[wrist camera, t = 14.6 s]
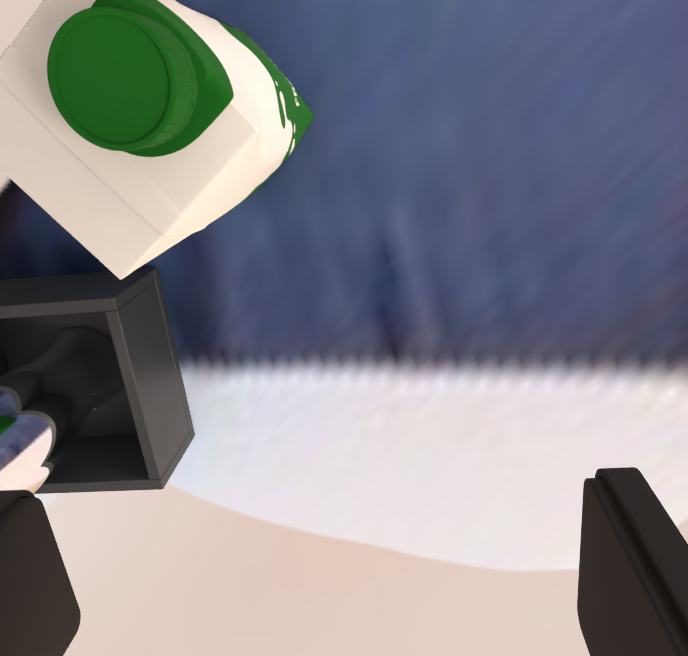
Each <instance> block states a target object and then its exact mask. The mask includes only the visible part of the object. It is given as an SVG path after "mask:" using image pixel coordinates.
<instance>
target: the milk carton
mask: <svg viewBox="0 0 688 656" xmlns="http://www.w3.org/2000/svg"><path fill="white" fill-rule="evenodd" d="M314 117H315V116H314V114H313V113H312V112H311V110H310V109H309V108H308V106H307V105H306V103H305V102H304V101H303V99H302V98H301V97H300V95H299V94H298V92H297V91H296V90H295V88H294V87H293V86H292V84H291V83H290V82H289V80H288V79H287V78H286V77H285V76H284V74H283V73H282V72H281V71H280V70H279V69H278V68H277V66H276V65H275V64H274V63H273V62H272V61H271V60H270V58H269V57H268V56H267V55H266V54H265V53H264V52H263V51H262V50H261V49H260V48H259V47H258V46H257V44H256V43H255V42H254V41H253V40H252V39H251V38H250V37H249V36H248V35H247V34H245V33H244V32H242V31H241V30H239V29H237V28H235V27H232V26H229V25H226V24H224V23H222V22H219V21H217V20H215V19H212V18H210V17H208V16H206V15H203V14H201V13H199V12H196V11H194V10H192V9H190V8H187V7H185V6H184V5H182V4H180V3H178V2H176V1H175V0H44V1H43V2H42V3H41V5H40V6H39V7H38V9H37V10H36V11H35V13H34V14H33V16H32V17H31V18H30V20H29V21H28V22H27V24H26V25H25V27H24V28H23V29H22V31H21V33H19V35H18V36H17V38H16V39H15V40H14V42H13V44H12V45H10V46H9V47H8V48H7V49H6V50H5V51H4V53H3V54H2V55H1V57H0V169H1V170H2V171H3V172H4V173H5V174H6V175H7V176H8V177H9V178H10V179H11V180H13V181H14V182H15V183H16V184H17V185H18V186H19V187H20V188H21V189H22V190H23V191H24V192H26V193H27V194H28V195H29V196H30V197H31V198H32V199H33V200H34V201H35V202H36V203H37V204H39V205H40V206H41V207H42V208H43V209H44V210H45V211H46V212H47V213H48V214H49V215H50V216H52V217H53V218H54V219H55V220H56V221H57V222H58V223H59V224H60V225H61V226H62V227H63V228H65V229H66V230H67V231H68V232H69V233H70V234H71V235H72V236H73V237H74V238H75V239H76V240H78V241H79V242H80V243H81V244H82V245H83V246H84V247H85V248H86V249H87V250H88V251H90V252H91V253H92V254H93V255H94V256H95V257H96V258H97V259H98V260H99V261H100V262H101V263H103V264H104V265H105V266H106V267H107V268H108V269H109V270H110V271H111V272H112V273H113V274H114V275H116V276H117V277H118V278H119V279H120V280H121V279H123V278H125V277H126V276H128V275H129V274H130V273H132V272H133V271H135V270H136V269H138V268H139V267H141V266H142V265H144V264H146V263H147V262H149V261H150V260H152V259H153V258H155V257H156V256H158V255H160V254H161V253H163V252H164V251H166V250H167V249H169V248H170V247H172V246H174V245H175V244H177V243H178V242H180V241H181V240H183V239H184V238H186V237H188V236H189V235H191V234H192V233H195V232H197V231H200V230H202V229H204V228H205V227H206V226H207V225H208V224H210V223H211V222H213V221H215V220H216V219H218V218H219V217H221V216H222V215H224V214H225V213H226V212H228V211H229V210H231V209H232V208H234V207H235V206H237V205H238V204H240V203H241V202H243V201H244V200H245V199H247V198H248V197H250V196H251V195H252V194H253V193H254V192H256V191H257V190H258V189H259V188H260V187H261V186H262V185H263V184H264V183H265V182H266V181H267V180H268V178H269V177H270V176H271V175H272V174H273V173H274V172H275V171H276V170H277V169H278V168H279V167H280V166H281V165H282V163H283V162H284V161H285V160H286V159H287V158H288V156H289V155H290V154H291V153H292V152H293V150H294V149H295V147H296V145H297V144H298V142H299V141H300V139H301V138H302V136H303V135H304V133H305V131H306V130H307V128H308V127H309V125H310V123H311V122H312V120H313V119H314Z"/></svg>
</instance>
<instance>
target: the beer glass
mask: <svg viewBox="0 0 688 656" xmlns="http://www.w3.org/2000/svg"><path fill="white" fill-rule="evenodd" d="M123 382H124V381H123V378H122V374H121V370H120V366H119V362H118V359H117V355H116V351H115V347H114V345H113V344H112V343H111V342H110V341H109V340H108V339H107V338H105V337H104V336H102V335H101V334H99V333H97V332H95V331H92V330H89V329H84V328H70V329H66V330H63V331H60V332H58V333H57V334H55V335H54V336H53V337H52V338H51V339H50V340H49V341H48V342H47V343H46V344H45V345H44V347H43V348H42V349H41V351H40V352H39V353H38V354H37V355H36V356H35V357H33V358H32V359H30V360H28V361H27V362H24V363H22V364H20V365H17V366H15V367H12V368H10V369H7V370H5V371H2V372H0V491H2V490H28V491H30V492H32V493H34V492H35V491H36V490H37V489H38V488H39V487H40V486H41V485H42V484H43V483H44V482H45V481H46V479H47V478H48V477H49V476H50V475H51V473H52V472H53V471H54V470H55V469H56V467H57V466H58V464H59V463H60V461H61V460H62V458H63V457H64V455H65V454H66V452H67V451H68V449H69V447H70V446H71V444H72V442H73V440H74V439H75V437H76V435H77V433H78V432H79V430H80V428H81V426H82V424H83V423H84V421H85V420H86V418H87V417H88V415H89V414H90V413H91V412H92V411H93V410H94V409H96V408H97V407H99V406H100V405H102V404H104V403H105V402H107V401H108V400H110V399H111V398H113V397H114V396H115V395H116V394H117V393H118V392H119V390H120V389H121V387H122V385H123Z"/></svg>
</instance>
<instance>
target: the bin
mask: <svg viewBox="0 0 688 656" xmlns="http://www.w3.org/2000/svg"><path fill="white" fill-rule="evenodd" d="M70 328H84V329H89V330H92V331H95V332H97V333H99V334H101V335H102V336H104V337H105V338H107V339H108V340H109V341H110V342H111V343H112V344H113V345H114V347H115V351H116V355H117V359H118V362H119V366H120V370H121V374H122V378H123V381H124V382H123V385H122V387H121V389H120V390H119V392H118V393H117V394H116V395H115V396H114V397H113V398H111V399H110V400H108V401H107V402H105V403H104V404H102V405H100V406H99V407H97V408H96V409H94V410H93V411H92V412H91V413H90V414H89V415H88V417H87V418H86V420H85V421H84V423H83V424H82V426H81V428H80V430H79V432H78V433H77V435H76V437H75V439H74V440H73V442H72V444H71V446H70V447H69V449H68V451H67V452H66V454H65V455H64V457H63V458H62V460H61V461H60V463H59V464H58V466H57V467H56V469H55V470H54V471H53V472H52V473H51V475H50V476H49V477H48V478H47V479H46V481H45V482H44V483H43V484H42V485H41V486H40V487H39V488H38V489H37V490H36V491H35V492H34V493H33V494H41V493H69V492H95V491H124V490H151V489H152V490H154V489H163V488H164V486H165V485H166V483H167V481H168V480H169V478H170V476H171V475H172V473H173V471H174V470H175V468H176V466H177V464H178V463H179V461H180V459H181V458H182V456H183V454H184V453H185V451H186V449H187V448H188V446H189V444H190V443H191V440H192V439H193V438H194V436H195V434H194V429H193V425H192V420H191V416H190V411H189V407H188V402H187V398H186V393H185V389H184V385H183V380H182V376H181V371H180V367H179V362H178V358H177V353H176V349H175V344H174V340H173V335H172V331H171V327H170V322H169V318H168V313H167V309H166V304H165V300H164V295H163V291H162V286H161V282H160V277H159V273H158V268H157V267H152V268H139V269H136V270H135V271H133V272H132V273H130V274H129V275H128V276H126V277H125V278H123V279H121V280H120V279H119V278H118V277H117V276H116V275H114V274H113V273H112V272H111V271H102V272H90V273H77V274H65V275H53V276H40V277H28V278H15V279H3V280H0V372H2V371H5V370H7V369H10V368H12V367H15V366H17V365H20V364H22V363H24V362H27V361H28V360H30V359H32V358H33V357H35V356H36V355H37V354H38V353H39V352H40V351H41V349H42V348H43V347H44V345H45V344H46V343H47V342H48V341H49V340H50V339H51V338H52V337H53V336H54V335H55V334H57V333H58V332H60V331H63V330H66V329H70Z"/></svg>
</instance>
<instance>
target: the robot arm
mask: <svg viewBox="0 0 688 656" xmlns="http://www.w3.org/2000/svg"><path fill="white" fill-rule="evenodd" d="M577 609H578V617H579V623H580V627H581V630H582V633H583V636H584V639H585V642H586V645H587V648H588V651H589V653H590V656H688V544H687V542H686V541H685V539H684V538H683V536H682V535H681V534H680V532H679V530H678V529H677V527H676V526H675V524H674V523H673V521H672V520H671V518H670V517H669V515H668V513H667V512H666V510H665V509H664V507H663V506H662V504H661V503H660V501H659V500H658V498H657V497H656V495H655V494H654V492H653V491H652V489H651V488H650V486H649V484H648V483H647V481H646V480H645V478H644V477H643V475H642V474H641V472H640V471H639V470H638V469H637V468H634V467H632V468H605V469H598V470H597V472H596V474H595V478H587V479H585V482H584V489H583V508H582V526H581V545H580V563H579V582H578V601H577ZM79 624H80V609H79V606H78V603H77V600H76V598H75V595H74V592H73V589H72V586H71V583H70V580H69V577H68V574H67V572H66V569H65V566H64V563H63V560H62V557H61V555H60V552H59V549H58V546H57V543H56V540H55V537H54V534H53V531H52V529H51V526H50V523H49V520H48V517H47V514H46V511H45V509H44V506H43V503H42V502H41V500H40V499H38V498H35V496H34V494H33V493H32V492H30V491H28V490H2V491H0V656H63V655H64V653H65V652H66V649H67V648H68V647H69V645H70V643H71V641H72V640H73V638H74V636H75V635H76V633H77V631H78V628H79Z"/></svg>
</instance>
